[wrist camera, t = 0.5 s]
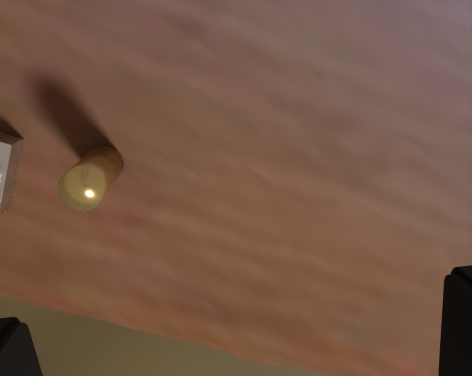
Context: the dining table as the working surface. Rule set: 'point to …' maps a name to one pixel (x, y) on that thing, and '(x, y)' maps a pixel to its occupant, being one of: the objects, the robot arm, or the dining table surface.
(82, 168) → the pin
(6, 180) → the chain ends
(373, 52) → the dining table surface
